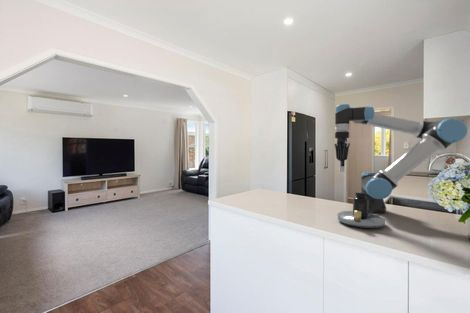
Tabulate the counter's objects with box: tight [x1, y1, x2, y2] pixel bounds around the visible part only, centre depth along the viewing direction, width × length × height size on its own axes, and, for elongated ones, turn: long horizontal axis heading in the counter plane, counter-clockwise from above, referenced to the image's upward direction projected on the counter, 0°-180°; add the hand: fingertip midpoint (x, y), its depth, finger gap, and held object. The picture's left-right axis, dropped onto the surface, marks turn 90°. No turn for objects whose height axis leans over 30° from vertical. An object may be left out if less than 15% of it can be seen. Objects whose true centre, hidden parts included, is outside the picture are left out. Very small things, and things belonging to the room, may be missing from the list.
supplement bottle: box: [352, 191, 369, 218], centre depth 114 cm, size 7×7×12 cm
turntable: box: [337, 210, 386, 229], centre depth 114 cm, size 21×21×7 cm
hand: (341, 171), depth 132 cm, fingers closed
